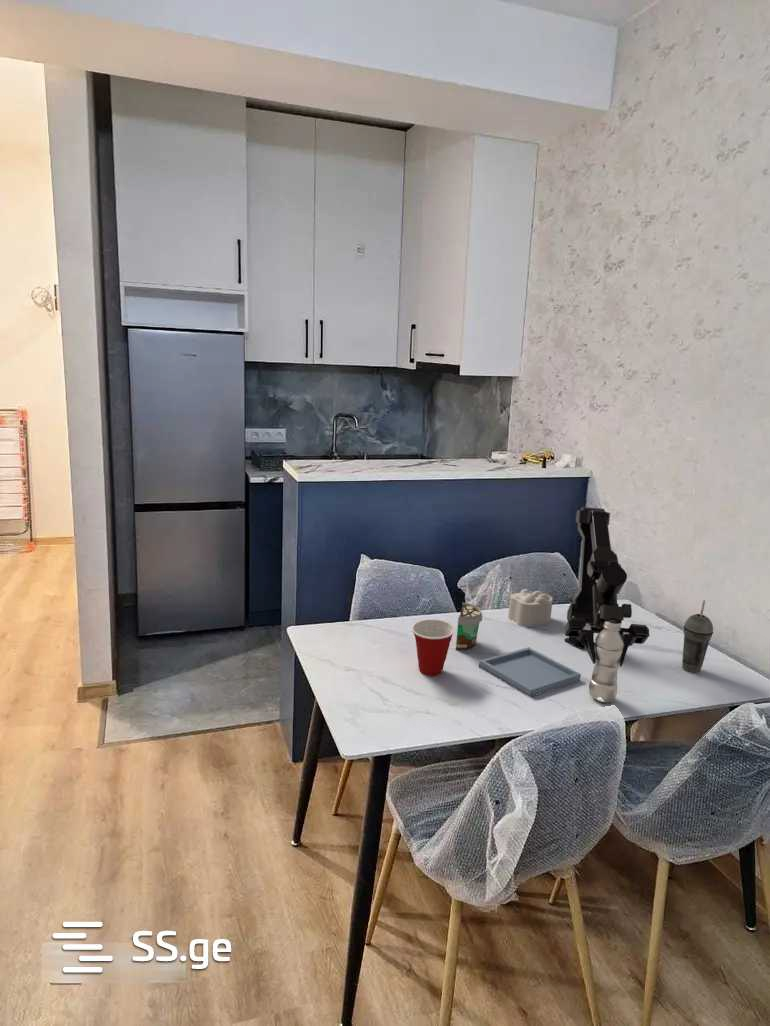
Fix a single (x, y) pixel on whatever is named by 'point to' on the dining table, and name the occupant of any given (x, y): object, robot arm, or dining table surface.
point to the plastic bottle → (607, 661)
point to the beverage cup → (696, 641)
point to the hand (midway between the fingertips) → (607, 664)
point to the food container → (468, 626)
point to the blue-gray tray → (529, 671)
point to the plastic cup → (432, 644)
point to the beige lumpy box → (530, 608)
